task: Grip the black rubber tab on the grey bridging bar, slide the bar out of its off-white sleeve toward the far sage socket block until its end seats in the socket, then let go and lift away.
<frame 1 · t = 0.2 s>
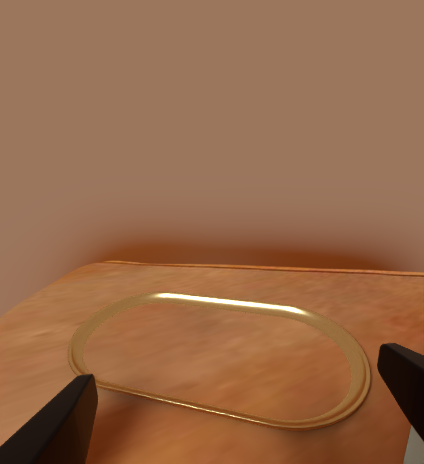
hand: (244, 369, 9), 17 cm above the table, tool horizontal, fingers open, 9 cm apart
serving platter: (208, 349, 34), on the table
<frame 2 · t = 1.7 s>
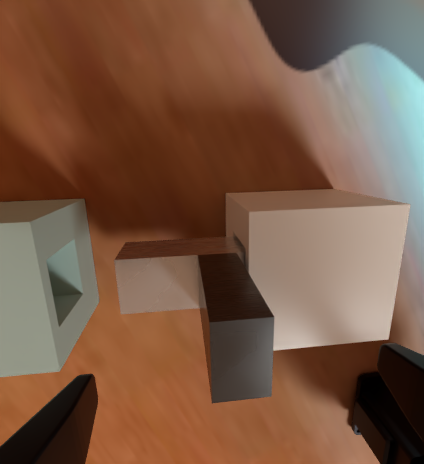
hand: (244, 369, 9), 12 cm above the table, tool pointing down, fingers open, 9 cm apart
grey bridging bar: (271, 290, 13), point 7 cm above the table, slide at 0.0 cm
socket block: (51, 254, 19), on the table
sleeve: (278, 241, 21), on the table
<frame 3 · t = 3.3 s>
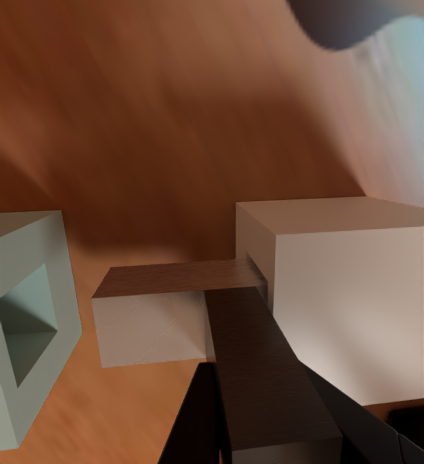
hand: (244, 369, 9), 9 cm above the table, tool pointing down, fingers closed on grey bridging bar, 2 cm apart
grey bridging bar: (304, 341, 10), point 8 cm above the table, slide at 0.0 cm, touching gripper
socket block: (21, 278, 16), on the table
sleeve: (299, 260, 17), on the table
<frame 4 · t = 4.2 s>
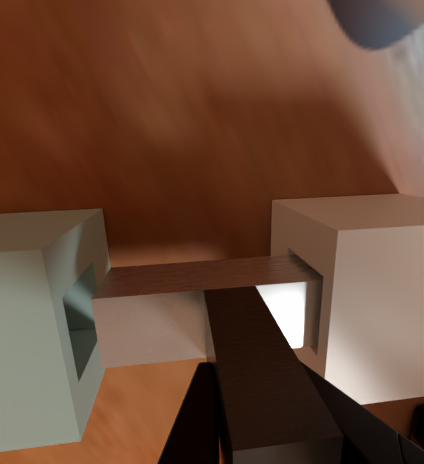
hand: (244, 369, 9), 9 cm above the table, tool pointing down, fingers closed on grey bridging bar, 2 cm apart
grey bridging bar: (304, 340, 10), point 7 cm above the table, slide at 2.2 cm, touching gripper
socket block: (61, 276, 16), on the table
sleeve: (332, 256, 18), on the table
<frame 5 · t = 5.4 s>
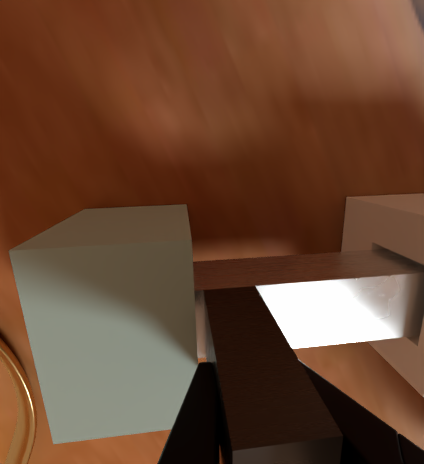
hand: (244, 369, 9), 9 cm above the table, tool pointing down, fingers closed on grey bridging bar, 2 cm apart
grey bridging bar: (304, 340, 10), point 8 cm above the table, slide at 6.7 cm, touching gripper
socket block: (143, 270, 16), on the table
sleeve: (399, 252, 18), on the table
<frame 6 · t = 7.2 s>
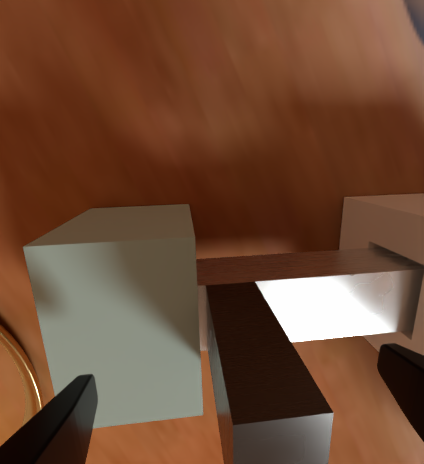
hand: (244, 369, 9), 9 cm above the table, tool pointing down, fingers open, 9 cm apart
grey bridging bar: (301, 333, 10), point 7 cm above the table, slide at 6.7 cm
socket block: (146, 268, 17), on the table
sleeve: (395, 251, 18), on the table
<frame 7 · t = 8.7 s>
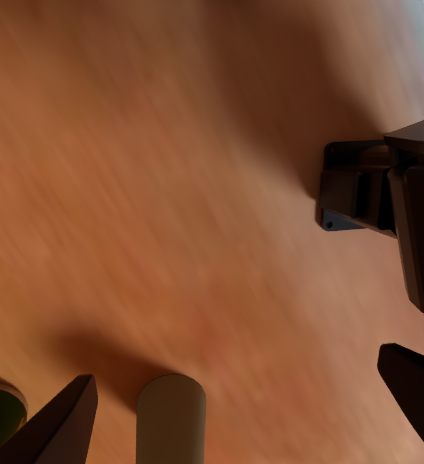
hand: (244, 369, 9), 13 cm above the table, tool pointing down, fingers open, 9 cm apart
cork: (172, 401, 25), on the table
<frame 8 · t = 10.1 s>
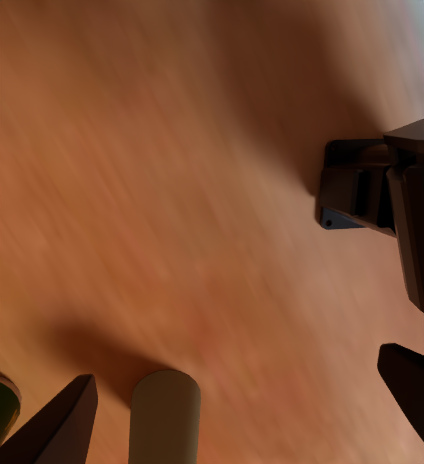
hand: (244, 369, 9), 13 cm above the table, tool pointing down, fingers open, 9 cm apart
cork: (166, 397, 25), on the table
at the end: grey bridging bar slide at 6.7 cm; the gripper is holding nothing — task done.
